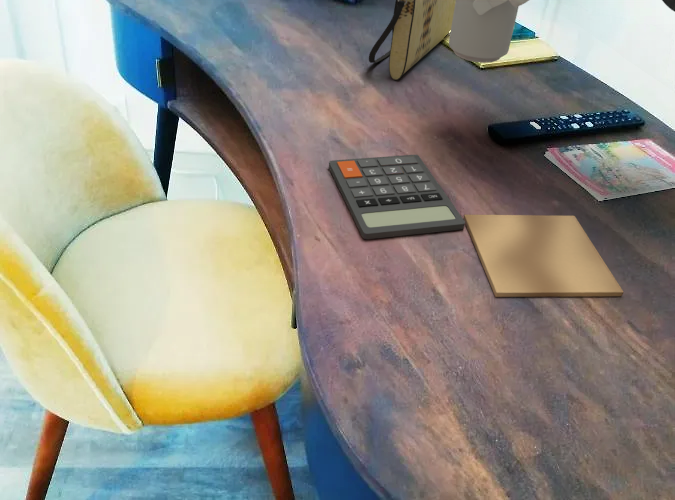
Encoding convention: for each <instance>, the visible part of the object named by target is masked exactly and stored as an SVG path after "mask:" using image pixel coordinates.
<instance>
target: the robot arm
mask: <svg viewBox="0 0 675 500" xmlns="http://www.w3.org/2000/svg"><path fill="white" fill-rule="evenodd" d="M506 1H508V0H475V1H474V2H473V7H474V9H475V10H476V12H477V13H478V14H479V15H483V14H484V13H486V12H487V11H489V10H490V9H492V8H493V7H496V6H498V5H500V4H502V3H505V2H506ZM509 1H510V2H511V4H512V5H513V6H514V7H518V6H519V7H520V6H522V5H524V4H526V3H528V2H529V1H530V0H509ZM661 1H662V2H663V3H664V5H665V6H666V7H667V8H669V9H670V10H671V11H673V12H675V0H661ZM519 7H518V8H519Z"/></svg>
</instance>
